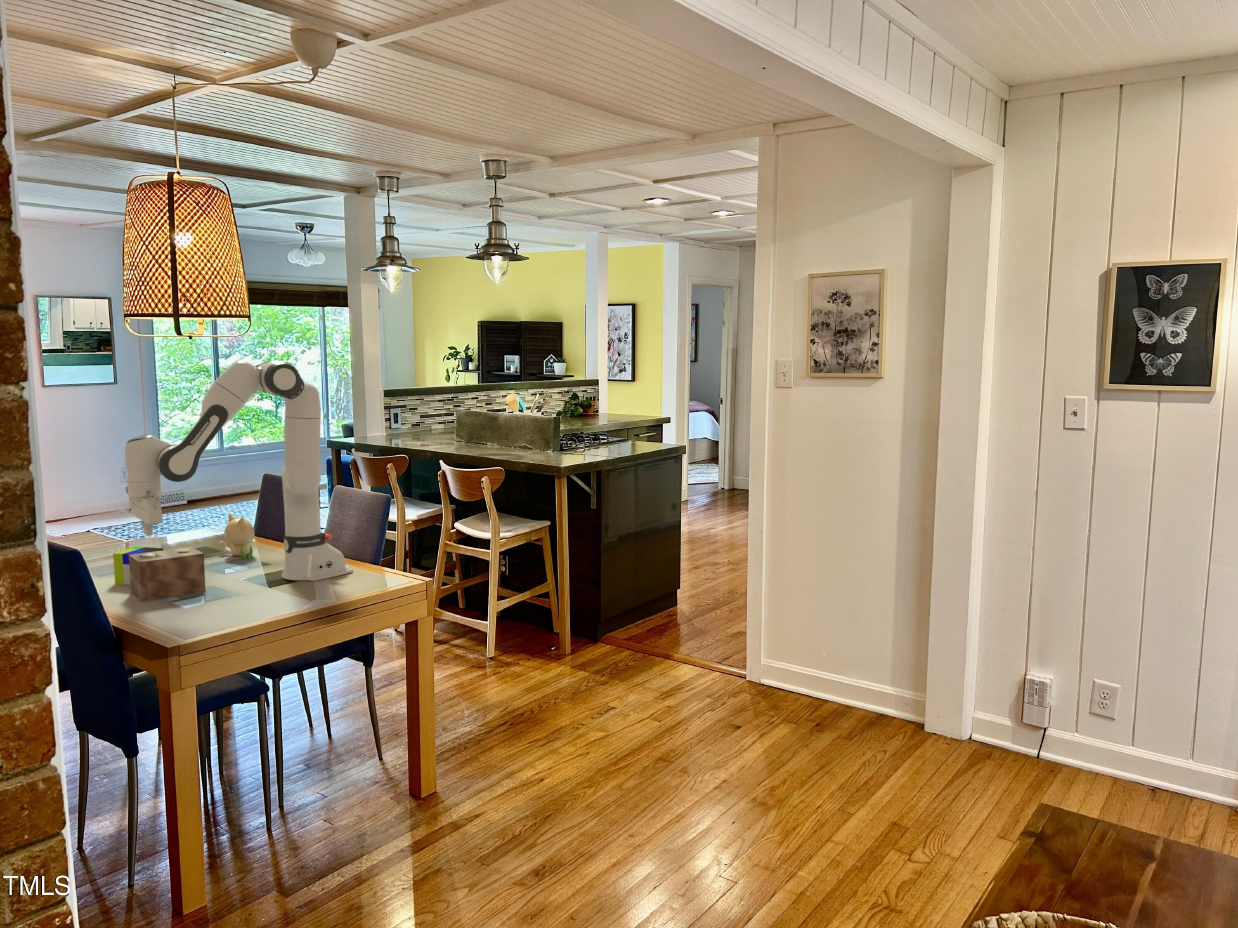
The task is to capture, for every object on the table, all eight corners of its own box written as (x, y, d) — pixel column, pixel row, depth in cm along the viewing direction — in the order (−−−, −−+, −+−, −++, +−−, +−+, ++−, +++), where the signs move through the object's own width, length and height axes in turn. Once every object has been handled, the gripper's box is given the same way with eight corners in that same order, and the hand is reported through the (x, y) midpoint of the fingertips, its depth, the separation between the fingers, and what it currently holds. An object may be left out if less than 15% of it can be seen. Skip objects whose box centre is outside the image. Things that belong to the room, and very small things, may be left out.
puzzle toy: (142, 585, 277) (140, 555, 276) (115, 583, 279) (113, 553, 278) (164, 578, 287) (163, 548, 286) (138, 576, 289) (136, 546, 288)
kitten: (264, 556, 318) (262, 515, 316) (237, 561, 310) (235, 519, 308) (245, 549, 328) (243, 510, 326) (218, 554, 320) (216, 514, 318)
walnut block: (193, 583, 281) (191, 545, 279) (205, 591, 272) (203, 552, 271) (131, 593, 269) (128, 553, 267) (141, 601, 260) (139, 561, 259)
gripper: (166, 492, 258) (169, 538, 260) (146, 484, 273) (150, 528, 275) (142, 495, 253) (146, 541, 255) (124, 486, 268) (128, 531, 270)
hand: (148, 534), depth 265 cm, fingers closed
